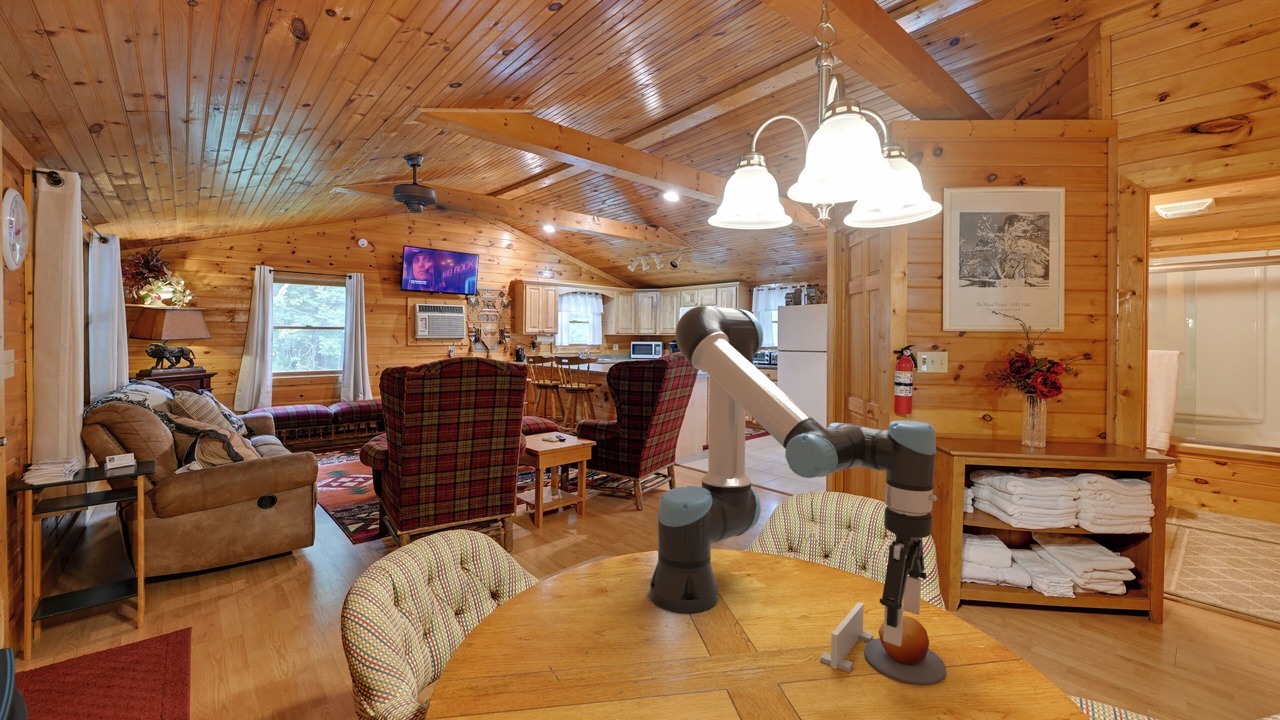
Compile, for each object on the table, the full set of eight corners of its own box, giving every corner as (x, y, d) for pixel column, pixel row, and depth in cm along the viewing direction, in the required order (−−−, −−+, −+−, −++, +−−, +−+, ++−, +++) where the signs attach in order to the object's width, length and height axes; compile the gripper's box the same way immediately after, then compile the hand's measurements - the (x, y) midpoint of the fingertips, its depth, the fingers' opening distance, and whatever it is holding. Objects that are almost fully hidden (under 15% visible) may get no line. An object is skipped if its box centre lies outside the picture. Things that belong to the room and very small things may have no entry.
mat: (854, 664, 95) (854, 660, 95) (875, 634, 105) (875, 630, 105) (937, 695, 87) (937, 690, 87) (951, 659, 97) (951, 655, 97)
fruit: (947, 666, 91) (922, 623, 92) (903, 684, 93) (879, 642, 93) (931, 640, 99) (908, 601, 100) (891, 657, 100) (868, 619, 101)
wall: (819, 662, 96) (820, 629, 95) (847, 628, 107) (848, 598, 107) (848, 673, 92) (849, 639, 92) (873, 637, 104) (874, 606, 104)
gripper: (915, 533, 83) (908, 667, 84) (945, 498, 103) (939, 607, 104) (864, 522, 88) (858, 648, 89) (902, 490, 107) (897, 594, 108)
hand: (902, 626), depth 96 cm, fingers open, 13 cm apart
